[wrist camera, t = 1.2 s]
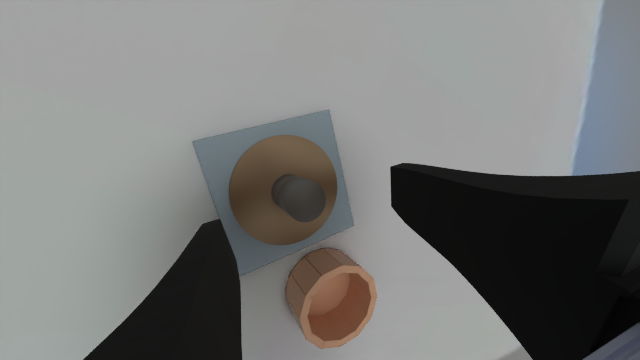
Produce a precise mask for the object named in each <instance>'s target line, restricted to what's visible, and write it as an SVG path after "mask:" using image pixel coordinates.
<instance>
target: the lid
mask: <svg viewBox="0 0 640 360" xmlns="http://www.w3.org/2000/svg"><path fill="white" fill-rule="evenodd" d="M336 196H337V178H336V173H335V169H334V167H333V164H332V162H331V160H330V159H329V157H328V156H327V154H326V153H325V152H324V151H323V150H322V149H321V148H320V147H319V146H318V145H316V144H315V143H313V142H312V141H310V140H308V139H305V138H303V137H299V136H294V135H278V136H273V137H269V138H266V139H264V140H261V141H259V142H257V143H256V144H254V145H253V146H251V147H250V148H249V149H248V150H247V151H246V152H245V153H244V154H243V155H242V156H241V157H240V159H239V160H238V162H237V164H236V165H235V168H234V170H233V172H232V175H231V178H230V184H229V201H230V205H231V209H232V211H233V214H234V216H235V218H236V220H237V222H238V223H239V225H240V226H241V227H242V228H243V230H244V231H246V232H247V233H248V234H249V235H250V236H252V237H253V238H255V239H257V240H259V241H261V242H264V243H267V244H272V245H289V244H294V243H297V242H300V241H302V240H304V239H306V238H308V237H310V236H311V235H313V234H314V233H315V232H316V231H318V230H319V229H320V228H321V227H322V226H323V225H324V223H325V222H326V221H327V219H328V217H329V216H330V214H331V212H332V210H333V208H334V204H335V201H336Z"/></svg>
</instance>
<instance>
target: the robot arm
mask: <svg viewBox="0 0 640 360" xmlns="http://www.w3.org/2000/svg"><path fill="white" fill-rule="evenodd" d="M391 207H392V208H393V209H394V210H395V212H396V213H397V214H398V215H399V216H400V217H401V219H402V220H403V221H404V222H405V223H406V224H407V225H408V226H409V227H410V228H411V229H413V230H414V231H415V232H416V233H417V234H418V235H419V236H421V237H422V238H423V239H424V240H425V241H426V242H427V243H429V244H430V245H431V246H432V247H433V248H434V249H436V250H437V251H438V252H439V253H440V254H441V255H442V256H444V257H445V258H446V259H447V260H448V261H449V262H450V263H451V264H452V265H453V266H454V267H455V268H456V269H457V270H458V271H459V272H460V273H461V274H462V275H463V276H464V277H465V278H466V280H467V281H468V282H469V283H470V284H471V285H472V286H473V287H474V288H475V289H476V290H477V292H478V293H479V294H480V295H481V296H482V297H483V298H484V300H485V301H486V302H487V303H488V304H489V305H490V306H491V308H492V309H493V310H494V311H495V312H496V314H497V315H498V316H499V317H500V318H501V320H502V321H503V322H504V323H505V325H506V326H507V327H508V328H509V329H510V331H511V332H512V333H513V334H514V336H515V337H516V338H517V339H518V341H519V342H520V343H521V345H522V346H523V347H524V348H525V350H526V351H527V352H528V354H529V355H530V356H531V358H532V359H533V360H640V171H637V172H626V173H616V174H601V175H583V176H514V175H497V174H486V173H477V172H469V171H461V170H454V169H447V168H441V167H434V166H427V165H420V164H411V163H401V164H398V165H395V166H392V167H391ZM83 360H242V347H241V293H240V279H239V272H238V266H237V260H236V258H235V255H234V253H233V250H232V248H231V245H230V242H229V240H228V237H227V235H226V232H225V230H224V227H223V225H222V222H221V220H220V219H217V220H214V221H211V222H208V223H204V224H202V226H201V227H200V228H199V230H198V231H197V232H196V234H195V235H194V237H193V238H192V240H191V241H190V243H189V244H188V245H187V247H186V248H185V250H184V251H183V252H182V254H181V255H180V256H179V258H178V259H177V261H176V262H175V263H174V264H173V266H172V267H171V268H170V269H169V271H168V272H167V273H166V274H165V276H164V277H163V278H162V279H161V281H160V282H159V283H158V284H157V286H156V287H155V288H154V289H153V290H152V291H151V293H150V294H149V295H148V296H147V297H146V298H145V299H144V300H143V302H142V303H141V304H140V305H139V306H138V307H137V308H136V309H135V310H134V311H133V312H132V313H131V314H130V315H129V316H128V317H127V318H126V319H125V320H124V321H123V322H122V323H121V324H120V325H119V326H118V327H117V328H116V329H115V330H114V331H113V332H112V333H111V334H110V335H109V336H108V337H107V338H106V339H105V340H103V341H102V342H101V343H100V344H99V345H98V346H97V347H96V348H95V349H94V350H93V351H92V352H91V353H90V354H89V355H88V356H87V357H85V358H84V359H83Z"/></svg>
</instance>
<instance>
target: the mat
mask: <svg viewBox="0 0 640 360" xmlns="http://www.w3.org/2000/svg"><path fill="white" fill-rule="evenodd" d="M278 135H294V136H299V137H303V138H305V139H308V140H310V141H312V142H313V143H315V144H316V145H318V146H319V147H320V148H321V149H322V150H323V151H324V152H325V153H326V154H327V156H328V157H329V159H330V160H331V162H332V164H333V167H334V169H335V173H336V178H337V196H336V201H335V204H334V208H333V210H332V212H331V214H330V216H329V217H328V219H327V221H326V222H325V223H324V225H323V226H322V227H321V228H320V229H319V230H318V231H316V232H315V233H314V234H313V235H311V236H310V237H308V238H306V239H304V240H302V241H300V242H297V243H294V244H289V245H272V244H267V243H264V242H261V241H259V240H257V239H255V238H253V237H252V236H250V235H249V234H248V233H247V232H246V231H244V230H243V228H242V227H241V226H240V225H239V223H238V222H237V220H236V218H235V216H234V214H233V211H232V209H231V205H230V201H229V184H230V178H231V175H232V172H233V170H234V168H235V165H236V164H237V162H238V160H239V159H240V157H241V156H242V155H243V154H244V153H245V152H246V151H247V150H248V149H249V148H250V147H251V146H253V145H254V144H256V143H257V142H259V141H261V140H264V139H266V138H269V137H273V136H278ZM193 145H194V147H195V150H196V153H197V156H198V159H199V161H200V164H201V167H202V170H203V173H204V176H205V178H206V181H207V184H208V187H209V190H210V192H211V195H212V198H213V201H214V204H215V206H216V209H217V212H218V215H219V218H220V220H221V222H222V225H223V227H224V230H225V232H226V235H227V237H228V240H229V242H230V245H231V248H232V250H233V253H234V255H235V258H236V260H237V266H238V271H239V274H240V276H242V275H244V274H246V273H249V272H251V271H253V270H255V269H258V268H260V267H262V266H264V265H267V264H269V263H271V262H273V261H275V260H278V259H280V258H282V257H284V256H287V255H289V254H291V253H293V252H296V251H298V250H300V249H302V248H305V247H307V246H309V245H311V244H314V243H316V242H318V241H320V240H322V239H325V238H327V237H329V236H331V235H334V234H336V233H338V232H340V231H343V230H345V229H347V228H349V227H352V226H354V223H353V218H352V213H351V209H350V204H349V199H348V195H347V190H346V185H345V181H344V176H343V171H342V167H341V162H340V157H339V153H338V148H337V143H336V139H335V134H334V129H333V125H332V120H331V115H330V111H329V110H326V111H322V112H318V113H313V114H309V115H305V116H300V117H296V118H292V119H288V120H283V121H279V122H275V123H270V124H266V125H262V126H257V127H253V128H249V129H245V130H240V131H236V132H232V133H227V134H223V135H219V136H214V137H210V138H206V139H202V140H197V141H193Z"/></svg>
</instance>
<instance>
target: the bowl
mask: <svg viewBox="0 0 640 360" xmlns="http://www.w3.org/2000/svg"><path fill="white" fill-rule="evenodd" d="M286 297H287V301H288V304H289V306H290V309H291V312H292V314H293V316H294V318H295V320H296V322H297V323H298V325H299V327H300V329H301V331H302V333H303V335H304V337H305V339H306V340H308V341H310V342H311V343H313V344H314V345H316V346H318V347H319V348H321V349H322V348H332V347H340V346H342V345H344V344H345V343H347V342H348V341H350V340H352V339H353V338H355V337H356V336H358V334H360V332H361V331H362V330H363V328H364V327H365V325H366V324H367V323H368V321H369V320H370V319H371V316H372V314H373V310H374V307H375V303H376V299H377V293H376V288H375V283H374V278H373V277H372V276H371V275H370V274H368V273H367V272H366V271H365V270H364V269H363V268H362V267H361V266H360V265H358V264H357V263H356V262H354V261H353V260H352V259H351V258H349V257H348V256H347V255H345V254H344V253H343V252H341V251H338V250H336V249H332V248H322V249H318V250H315V251H312V252H311V253H309V254H307V255H306V256H304V257H303V258H302V259H301V260H300V261H299V262H298V263H297V264H296V265H295V267H294V268H293V270H292V271H291V273H290V276H289V278H288V281H287V286H286Z"/></svg>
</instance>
